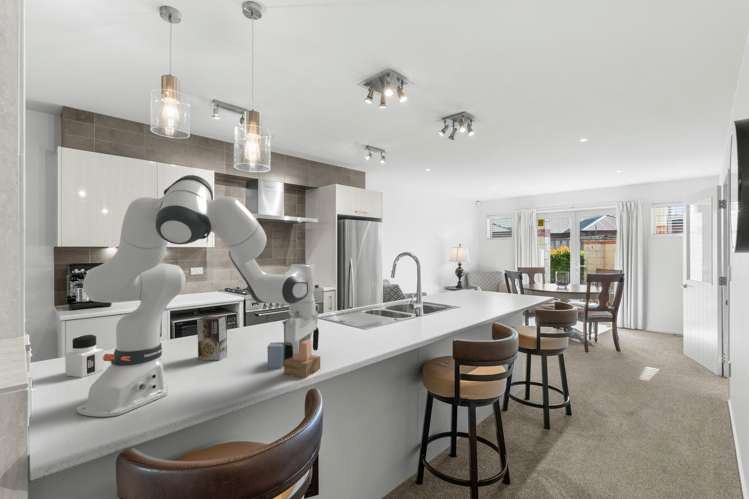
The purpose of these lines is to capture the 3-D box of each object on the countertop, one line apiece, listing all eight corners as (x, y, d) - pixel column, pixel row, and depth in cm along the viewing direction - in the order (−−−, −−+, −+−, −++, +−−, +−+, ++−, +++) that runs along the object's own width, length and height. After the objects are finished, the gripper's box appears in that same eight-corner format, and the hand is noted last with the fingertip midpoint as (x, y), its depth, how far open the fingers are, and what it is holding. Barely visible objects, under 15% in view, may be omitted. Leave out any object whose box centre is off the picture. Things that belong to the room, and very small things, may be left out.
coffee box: (227, 355, 148) (227, 315, 148) (219, 360, 142) (219, 318, 141) (206, 354, 149) (205, 315, 149) (197, 360, 143) (196, 318, 142)
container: (104, 370, 131) (103, 334, 131) (81, 378, 124) (81, 339, 123) (88, 368, 133) (87, 332, 133) (65, 375, 126) (64, 338, 126)
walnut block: (306, 378, 123) (306, 363, 123) (284, 375, 127) (284, 360, 127) (320, 370, 132) (320, 356, 132) (298, 367, 135) (298, 353, 135)
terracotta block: (306, 360, 126) (306, 343, 126) (292, 360, 127) (292, 342, 127) (311, 356, 131) (311, 339, 131) (298, 355, 132) (298, 339, 132)
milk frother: (288, 363, 138) (288, 324, 138) (273, 353, 151) (273, 317, 150) (322, 356, 146) (322, 319, 146) (305, 347, 159) (305, 313, 159)
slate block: (281, 368, 133) (281, 346, 133) (267, 368, 133) (267, 346, 133) (284, 363, 138) (284, 342, 138) (270, 363, 138) (270, 342, 138)
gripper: (298, 315, 118) (298, 358, 118) (320, 305, 138) (320, 341, 138) (280, 314, 119) (280, 357, 119) (304, 304, 139) (304, 340, 140)
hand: (302, 348), depth 129 cm, fingers open, 8 cm apart
